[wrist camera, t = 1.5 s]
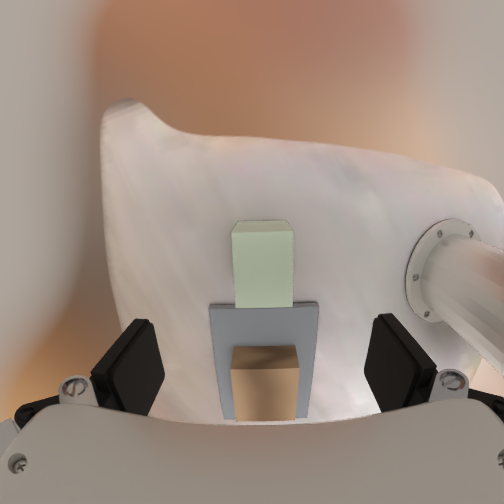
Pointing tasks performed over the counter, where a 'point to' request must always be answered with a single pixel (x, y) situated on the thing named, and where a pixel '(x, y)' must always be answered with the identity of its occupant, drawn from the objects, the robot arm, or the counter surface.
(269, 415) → the walnut base block
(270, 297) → the sage block
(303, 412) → the slate baseplate
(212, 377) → the counter surface
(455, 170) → the counter surface
